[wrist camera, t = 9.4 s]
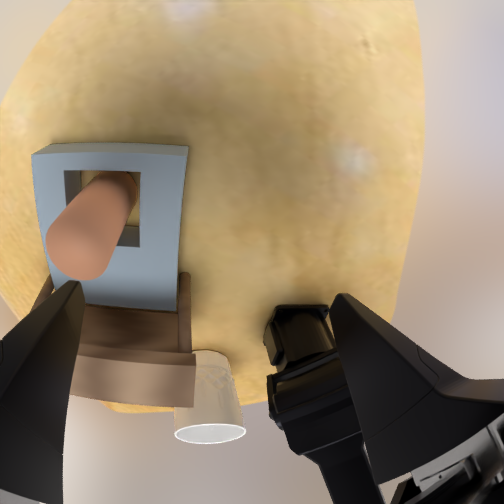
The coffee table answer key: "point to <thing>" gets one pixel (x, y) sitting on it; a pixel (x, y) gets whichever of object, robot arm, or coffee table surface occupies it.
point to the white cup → (211, 404)
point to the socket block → (132, 238)
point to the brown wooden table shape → (135, 354)
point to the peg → (91, 225)
